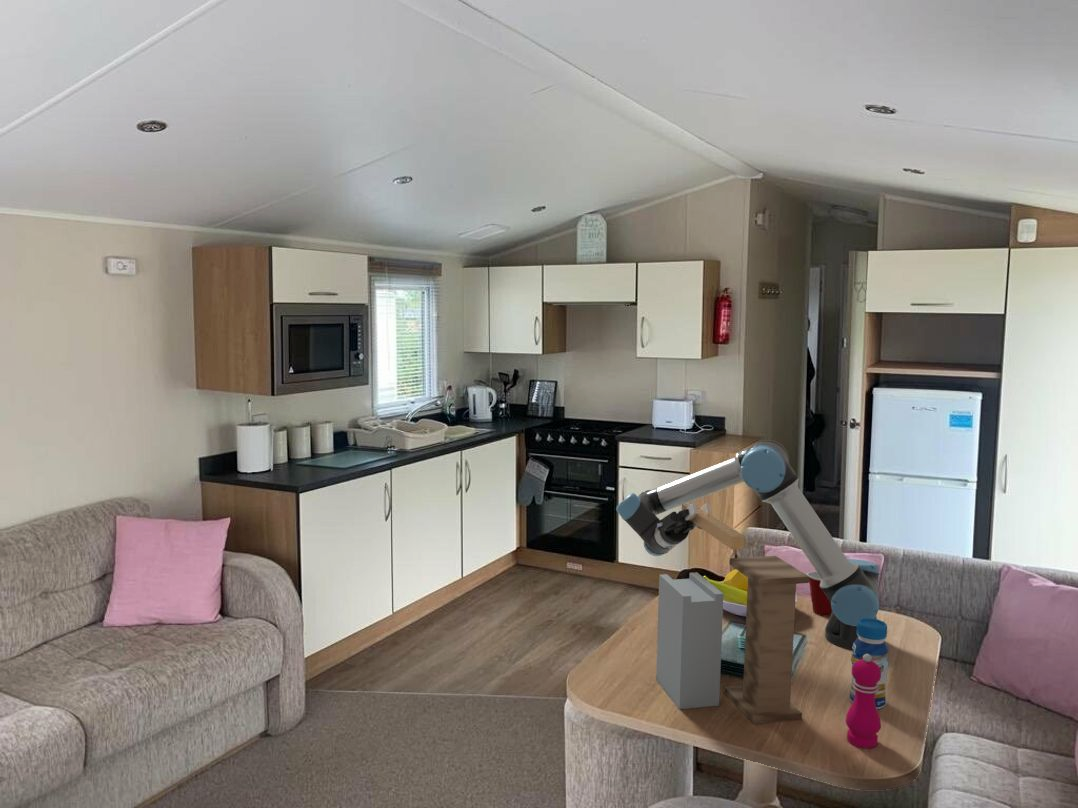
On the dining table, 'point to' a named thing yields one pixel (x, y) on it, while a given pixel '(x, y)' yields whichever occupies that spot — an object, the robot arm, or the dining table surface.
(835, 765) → the dining table surface
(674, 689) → the block
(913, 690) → the dining table surface
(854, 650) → the beverage bottle
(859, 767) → the dining table surface
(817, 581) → the plastic cup
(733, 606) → the fruit bowl
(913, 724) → the dining table surface
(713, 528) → the wooden bar
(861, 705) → the pepper mill
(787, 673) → the walnut stand
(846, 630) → the robot arm
